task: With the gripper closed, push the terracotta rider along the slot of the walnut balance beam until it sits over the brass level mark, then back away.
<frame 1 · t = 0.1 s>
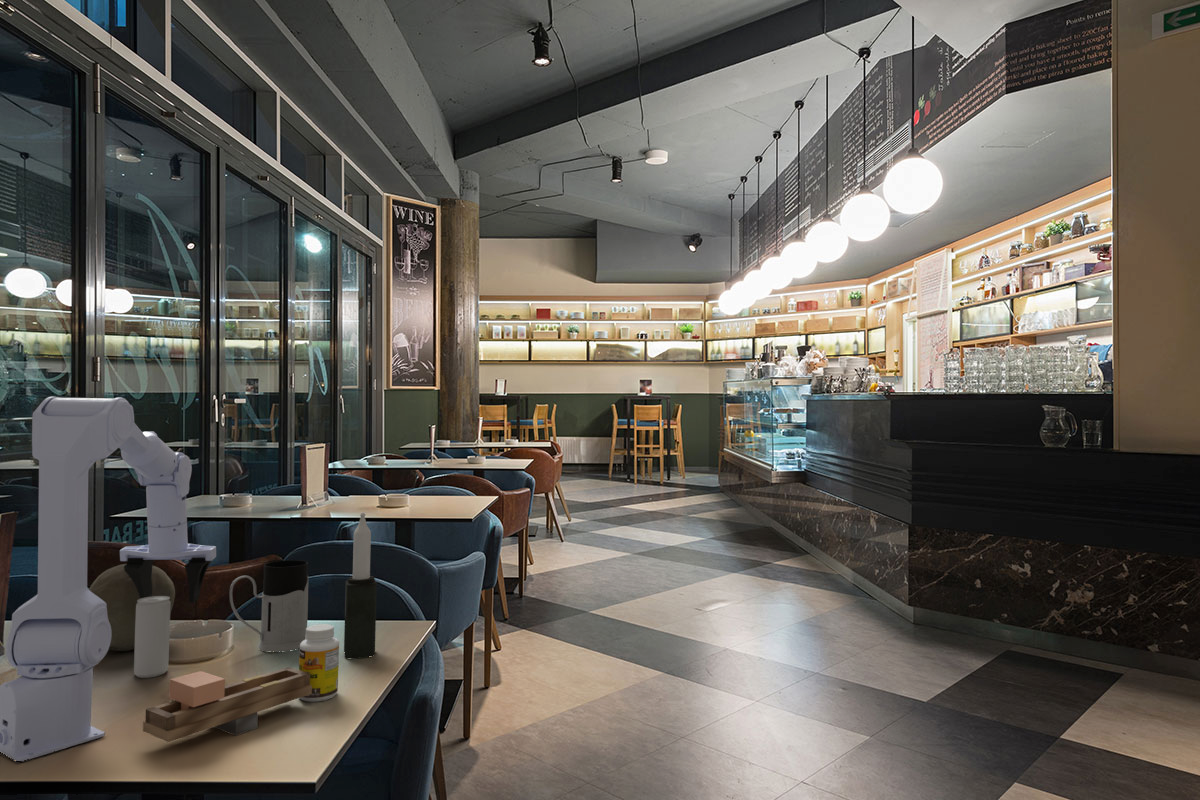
hand: (170, 600, 126), 11 cm above the table, tool pointing down, fingers open, 7 cm apart
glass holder: (268, 649, 135), on the table
rider: (196, 695, 95), point 6 cm above the table, slide at -5.0 cm
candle: (359, 655, 132), on the table
cantaloupe: (127, 649, 134), on the table
beam: (232, 726, 99), on the table
supplement bottle: (318, 697, 111), on the table
beverage can: (150, 675, 120), on the table
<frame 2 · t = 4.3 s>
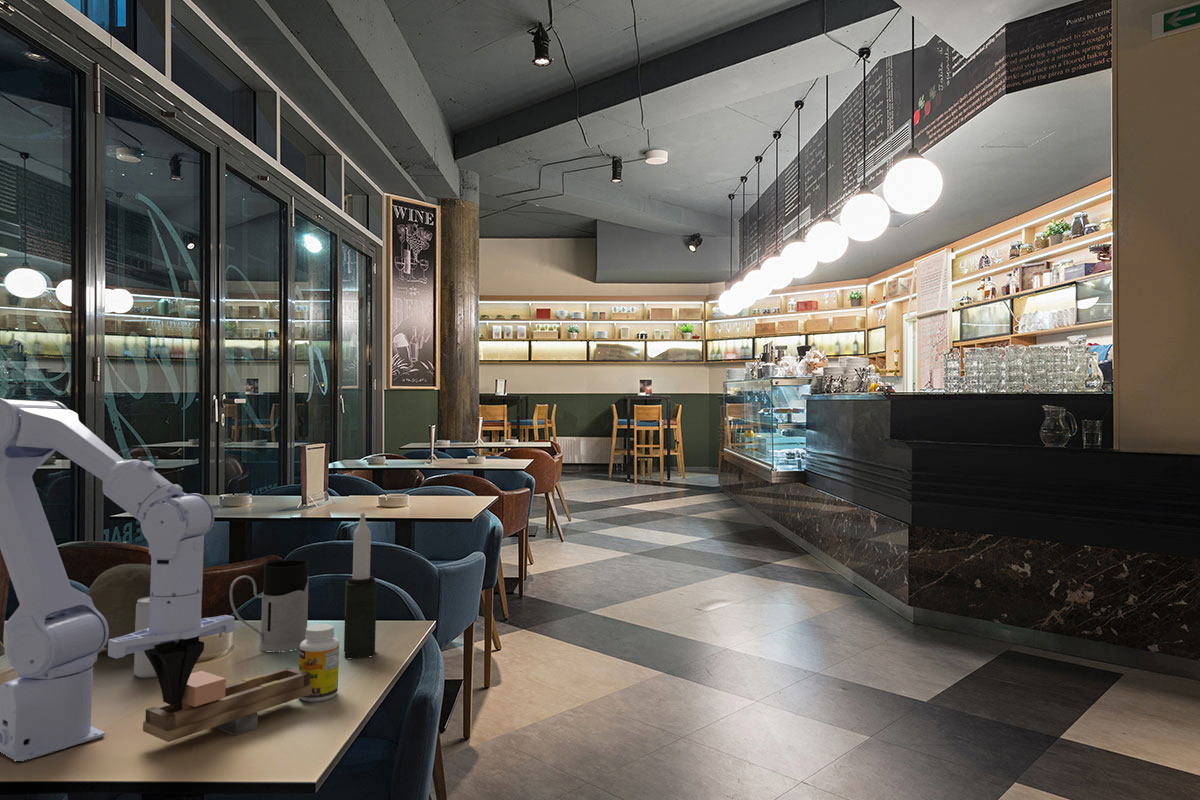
hand: (172, 701, 93), 6 cm above the table, tool pointing down, fingers closed
rider: (197, 694, 95), point 6 cm above the table, slide at -4.9 cm, touching gripper
everything else where it was.
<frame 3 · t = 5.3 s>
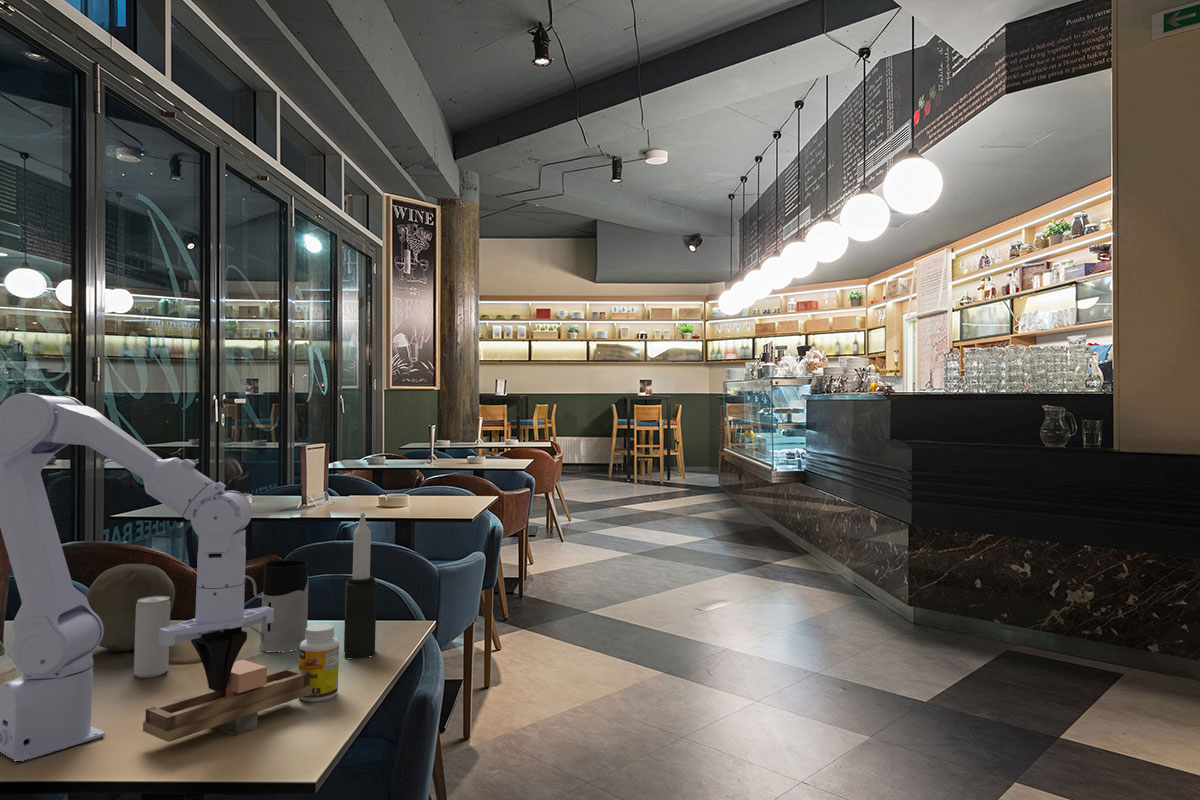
hand: (217, 688, 98), 6 cm above the table, tool pointing down, fingers closed
rider: (240, 682, 100), point 6 cm above the table, slide at 0.9 cm, touching gripper
everything else where it was.
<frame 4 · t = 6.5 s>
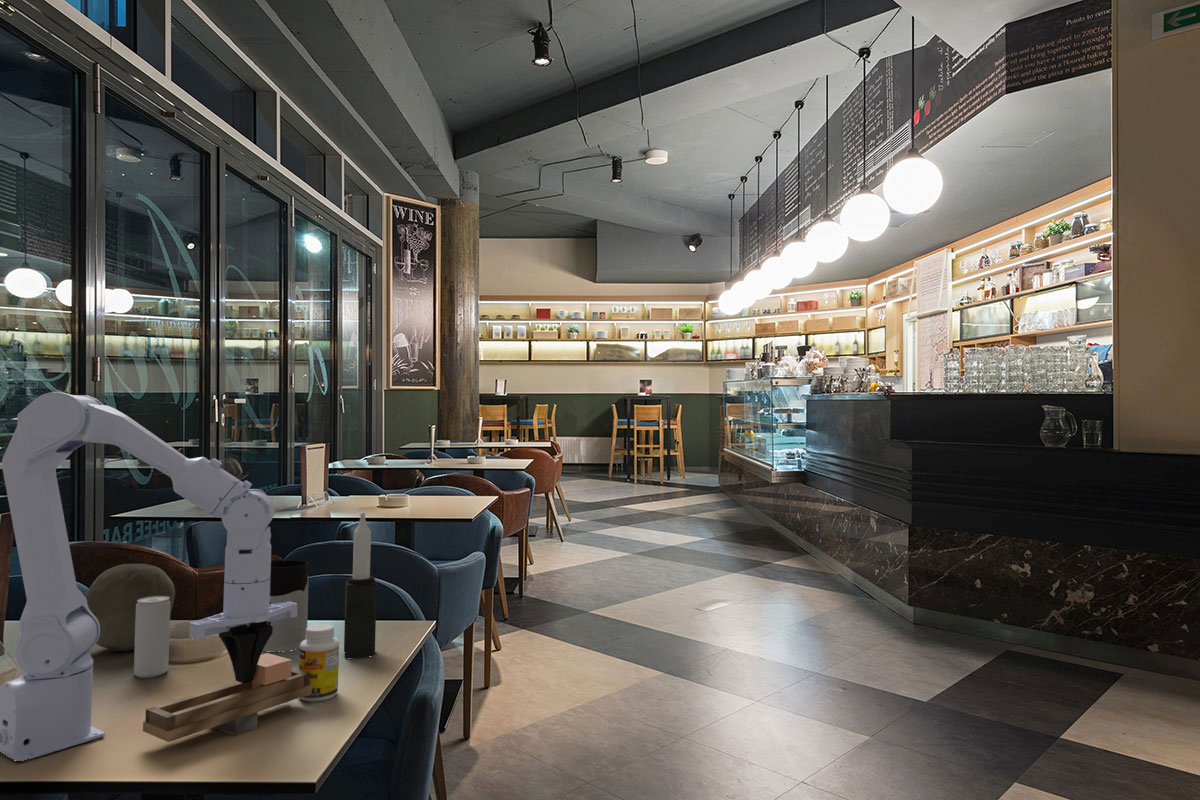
hand: (244, 680, 101), 6 cm above the table, tool pointing down, fingers closed
rider: (266, 674, 104), point 6 cm above the table, slide at 4.7 cm, touching gripper
everything else where it was.
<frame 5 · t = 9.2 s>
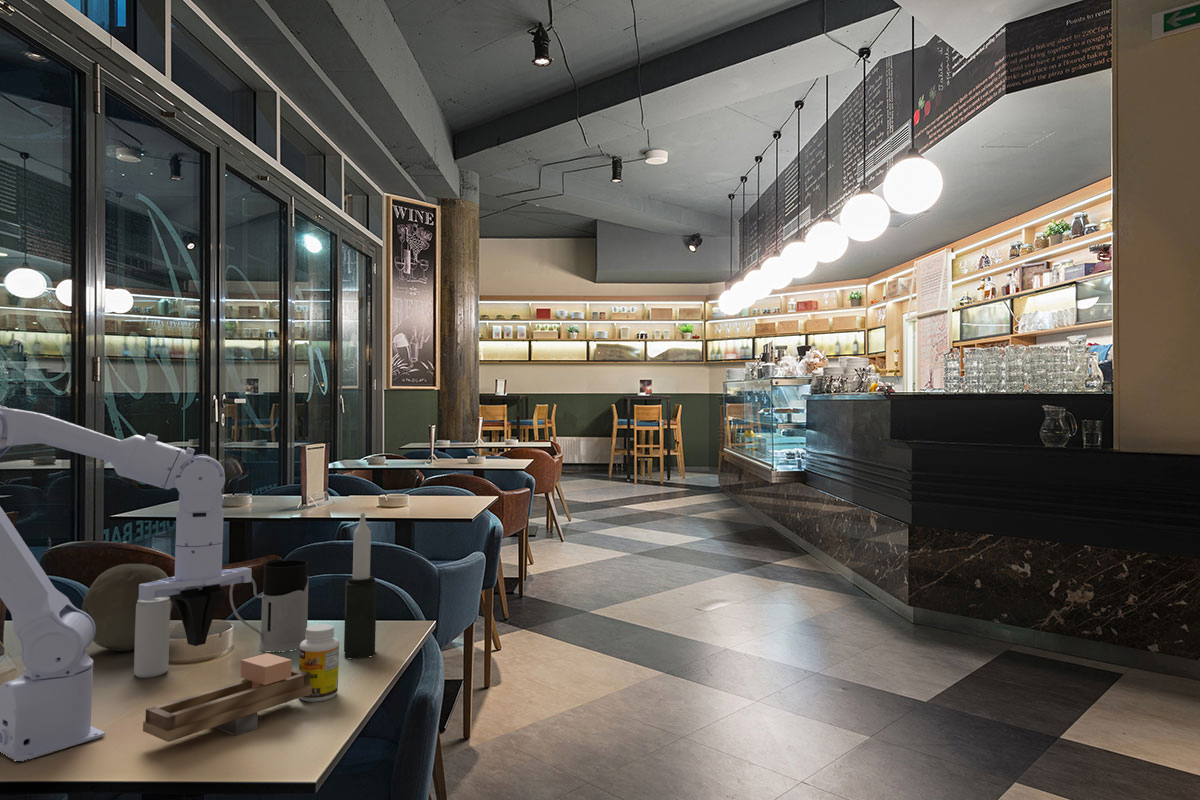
hand: (196, 643, 101), 10 cm above the table, tool pointing down, fingers closed
rider: (266, 674, 104), point 6 cm above the table, slide at 4.7 cm
everything else where it was.
at the end: rider slide at 4.7 cm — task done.
